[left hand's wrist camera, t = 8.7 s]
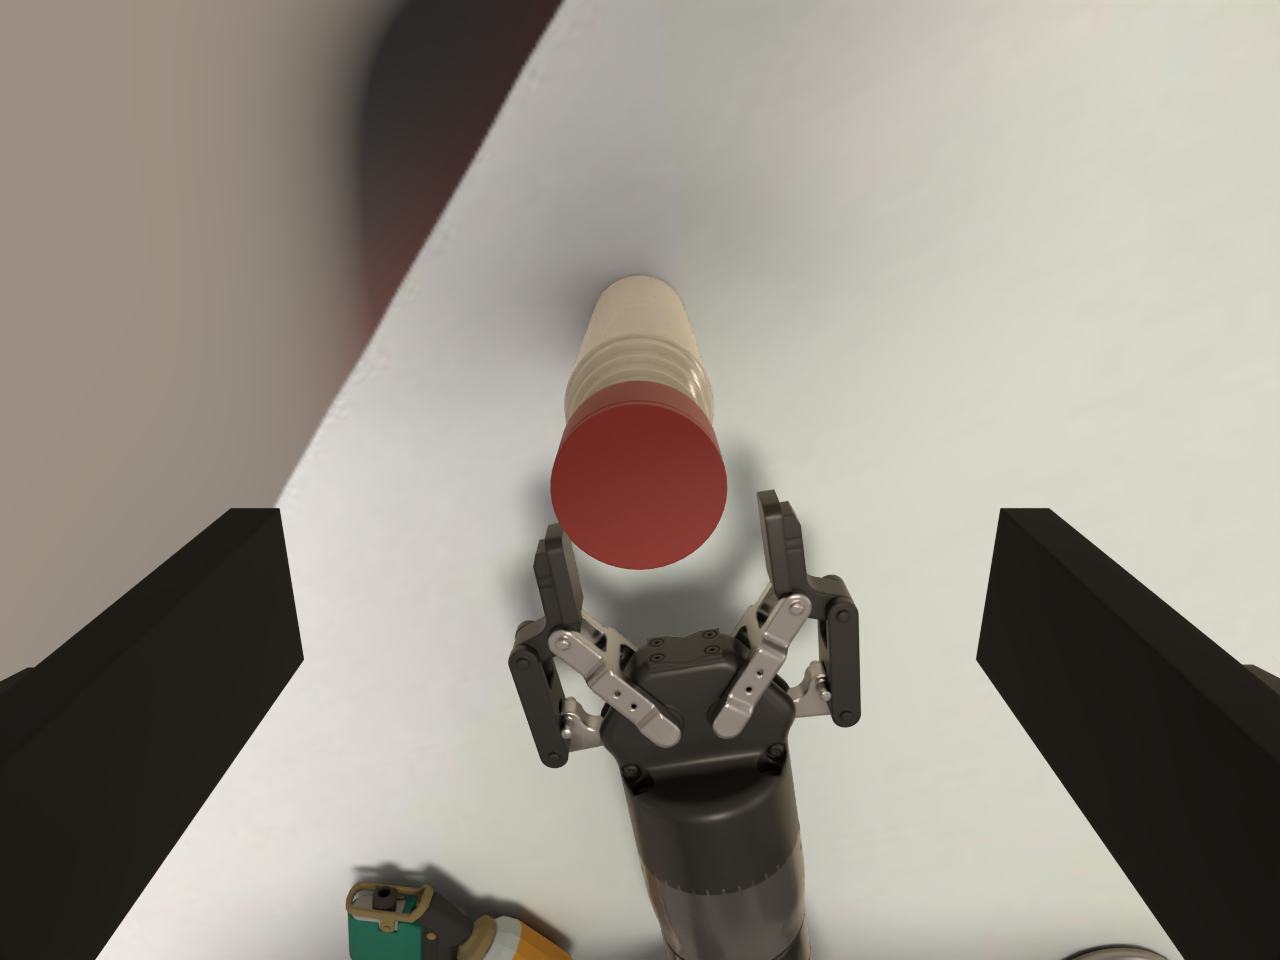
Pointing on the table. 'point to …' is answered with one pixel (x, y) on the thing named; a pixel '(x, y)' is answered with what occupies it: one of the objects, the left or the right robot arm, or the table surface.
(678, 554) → the cap
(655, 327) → the bottle
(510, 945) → the spray gun
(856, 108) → the table surface
